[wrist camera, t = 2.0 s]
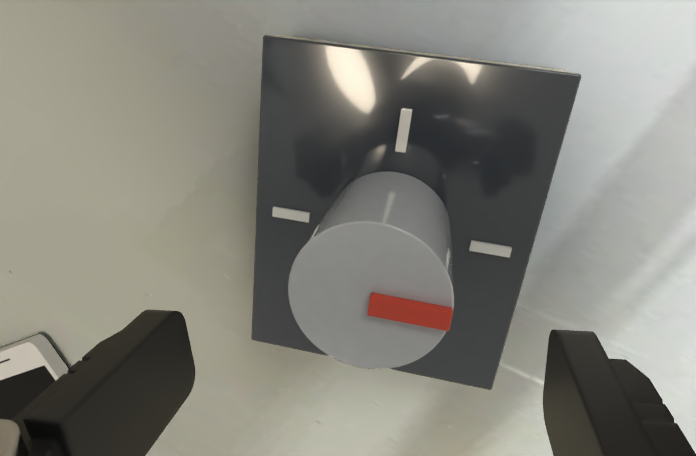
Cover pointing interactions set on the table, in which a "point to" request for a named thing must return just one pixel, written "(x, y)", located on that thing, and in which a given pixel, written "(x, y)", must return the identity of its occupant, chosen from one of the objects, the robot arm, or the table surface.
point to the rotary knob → (376, 274)
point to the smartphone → (27, 373)
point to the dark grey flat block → (409, 173)
